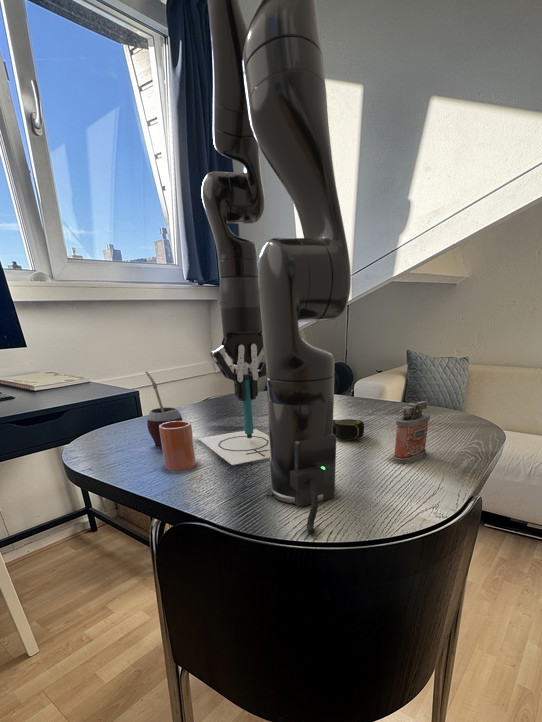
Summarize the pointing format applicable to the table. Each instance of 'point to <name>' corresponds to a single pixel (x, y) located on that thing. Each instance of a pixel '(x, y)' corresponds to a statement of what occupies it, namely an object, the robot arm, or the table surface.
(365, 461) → the table surface
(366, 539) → the table surface
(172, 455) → the pen cup
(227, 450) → the sketch pad
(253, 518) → the table surface
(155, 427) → the mate gourd
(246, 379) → the pen
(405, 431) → the lighter
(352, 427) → the tape measure
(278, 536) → the table surface
